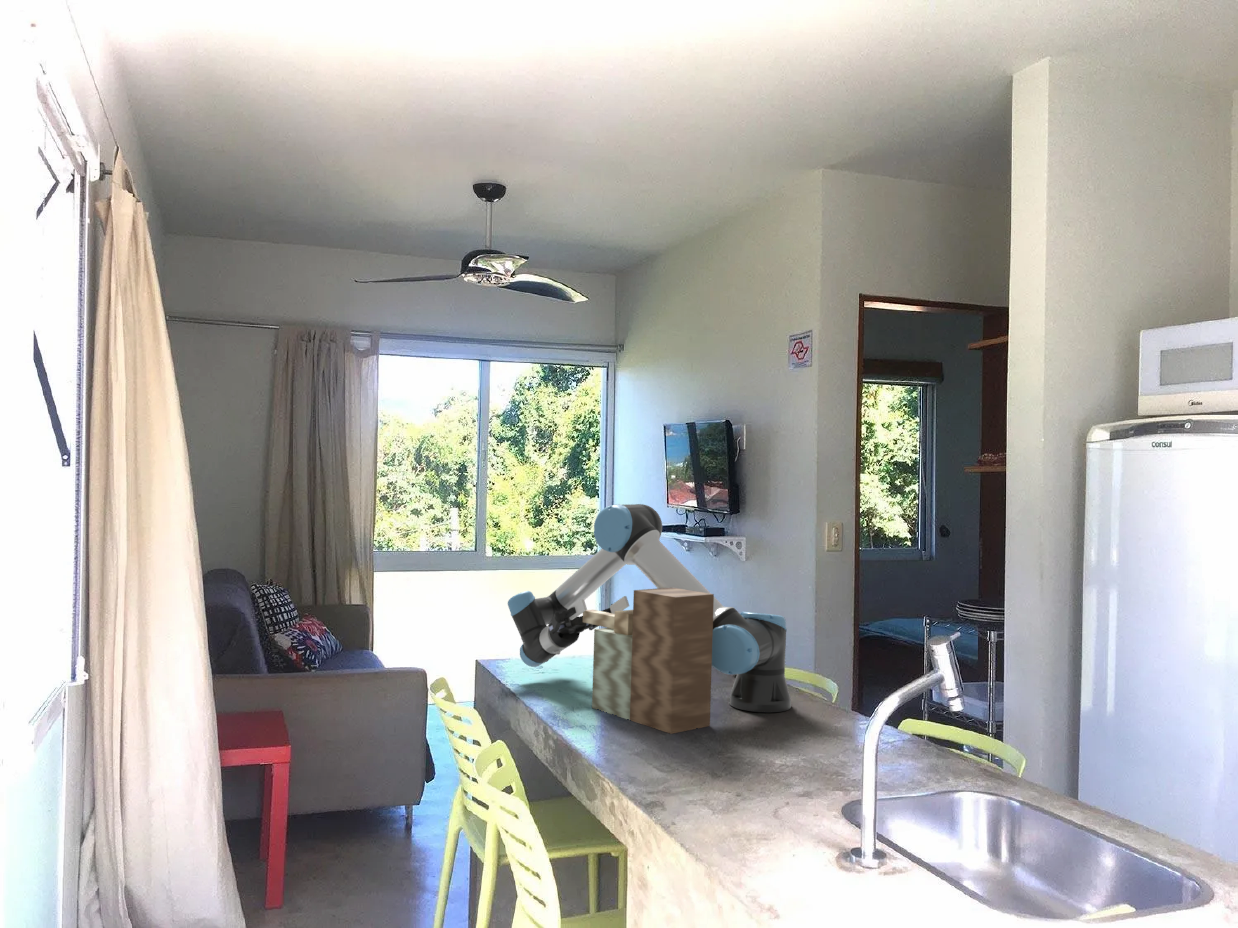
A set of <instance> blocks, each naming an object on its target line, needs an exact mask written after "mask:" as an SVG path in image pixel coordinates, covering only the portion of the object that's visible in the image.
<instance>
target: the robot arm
mask: <svg viewBox="0 0 1238 928" xmlns="http://www.w3.org/2000/svg"><path fill="white" fill-rule="evenodd" d="M662 532H663V522H662V519H661V516H660V514H659V513H658V511H656V509H655V508H653V507H651V506H649V505H647V504H644V503H638V504H637V503H636V504H633V503H632V504H620V503H616V504H613V505H608V506H606V507H604V508H602V509H601V510H600V512H598V514H597V516H596V518H595V520H594V524H593V536H594V540H595V542H596V543H597V545H598V547H599V548H600V549H599V551H597V552H596V553H595V554H594V555H592V557H591V558H589V559H588V560H587V561H586V562H584V564H583V565H582V566H580V568H578V569H577V570H576V571H575V572H574V573H573V574H572V575H570V576H569V577H568V578H567V579H566V580H565V581H563V582H562V584H560V585H559V586H558V587H557V588H556V589H555V590H554V591H552V592H551V593H550V594H549V595H547V596H545V597H539V598H536V596H534V594H533V592H532V591H530V590H526V591H522V592H520V593H517V594H515V595H513V596H512V597H510V598H509V599H508V601H507V606H508V609H509V612H510V616H511V618H512V619H513V620H512V621H513V622H514V625H515V627H516V628H517V629H516V630H517V631H518V634H519V636H520V640H521V642H522V644H521V645H520V648H519V657H520V659H521V661H522V662H523V663H524V665H526V666H528V667H531V668H535V667H539V666H541V665H543V664H545V663H547V662H548V661H550V660H551V659H552V658H553V657H555V656H556V655H560V654H561V652H562V651H564V650H565V649H567V648H568V647H570V646H571V645H574V643H576V642H577V641H578V640H579V637H580V633H582V632H583V633H584V631H585V630H589V631H593V630H594V629H597V628H598V627H599V626H598V625H593V624H589V623H584V622H583V612H584V611H586V610H588V609H587V604H586V602H585V600H586V599H588V598H589V597H590V596H591V595H592V594H594V593H595V592H596V591H597V590H598V589H599V588H601V586H603V585H604V584H605V583H606V582H607V581H608V580H609V579H611V578H612V577H613V576H614V575H615V574H617V573H618V572H619V571H620V570H621V569H622V568H624V566H626V565H628V566H635V567H637V568H638V570H640V572H641V573H642V574H643V575H644V576H645V577H646V578H647V579H648V580H649V581H650V582H651V583H652V584H653V585H654V586H655V587H656V589H657V588H671V587H672V588H678V589H685V590H691V591H697V592H703V593H709V594H712V593H711V592H710V591H709V590H708V588H706V586H704V585H703V583H702V582H700V580H698V579H697V577H696V576H695V575H693V574H692V572H691V571H689V569H688V568H687V567H686V566H684V564H682V562H681V561H680V560H679V559H678V558H677V557H676V556H675V555H674V554H673V553H672V552H671V551H670V550H669V549H668V548H667V547H666V546H665V545H664V544H663V543H662V542H661V541H660V539H661V538H660V537H661V536H662ZM629 607H630V604H629V600H628V597H627V595H624V596H622V597H621V598H619V599H618V600H616V601H615V602H614V603H611V604H610V605H609V607H608V608H605V609H601V611H602V612H607V613H612V614H615V611H624V610H627V608H629ZM581 614H582V615H581ZM580 615H581V616H580ZM787 629H788V628H787V621H786V618H785V617H784V616H783V615H779V614H772V613H763V612H761V613H760V612H753V611H741V612H739V611H738V610H736V608H735V607H733V606H725V605H723V604H722V603H721V602H720V601H719V600H718V599H717V598H716V597H715V596H714V605H713V638H712V667H713V668H714V669H716V671H719V672H720V673H722V674H725V675H736V674H737V675H736V677H735V679H734V682H733V685H732V688H731V691H730V693H729V705H730V706H731V707H733V708H735V709H738V710H743V711H746V712H755V713H780V712H786V711H789V710H791V707H792V698H791V694H790V690H789V687H788V684H787V680H786V676H785V670H786V650H787V649H786V647H787V646H786V643H787V642H786V640H787Z"/></svg>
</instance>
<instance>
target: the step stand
mask: <svg viewBox="0 0 1238 928" xmlns="http://www.w3.org/2000/svg"><path fill="white" fill-rule="evenodd" d="M714 595H715V594H714V593H711V594H709V593H703V592H697V591H691V590H685V589H678V588H672V587H671V588H657V587H656V588H647V589H646V588H645V589H634V590H633V604H632V605H633V607H632V610H633V632H632V635H624V634H619V633H615V632H614V629H611V628H607V627H603V628H595V629H593V630H594V632H593V633H594V634H593V659H592V660H593V664H592V666H593V669H592V697H591V699H592V700H591V708H592V709H594V710H597V709H599V710H598V711H600V710H601V711H600V712H603V711H604V713H606V712H607V713H606V714H608V715H612V714H614V715H613V716H615V715H617V716H616V717H619V718H622V719H623V720H627V719H629V720H628V721H630V720H631V721H632V722H634V723H637V724H641V725H643V726H647V727H650V728H652V729H656V730H659V731H662V732H663V733H667V734H670V735H671V734H672V735H673V734H677V733H681V732H686V731H692V730H697V729H696V728H698V729H702V728H706V727H707V728H708V727H711V704H712V703H711V698H712V667H713V666H712V638H713V605H714V597H715V596H714ZM631 721H630V722H631Z"/></svg>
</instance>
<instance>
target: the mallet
mask: <svg viewBox="0 0 1238 928" xmlns="http://www.w3.org/2000/svg"><path fill="white" fill-rule="evenodd" d="M582 616H583V622H584V623H589V624H593V625H598V627H603V628H611V629H614V632H615V633H619V634H624V635H632V632H633V609H624V610H623V611H615V614H612V613H607V612H602V610H598V609H597V610H596V609H587V610H586V611H584V612H583V613H582Z"/></svg>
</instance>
